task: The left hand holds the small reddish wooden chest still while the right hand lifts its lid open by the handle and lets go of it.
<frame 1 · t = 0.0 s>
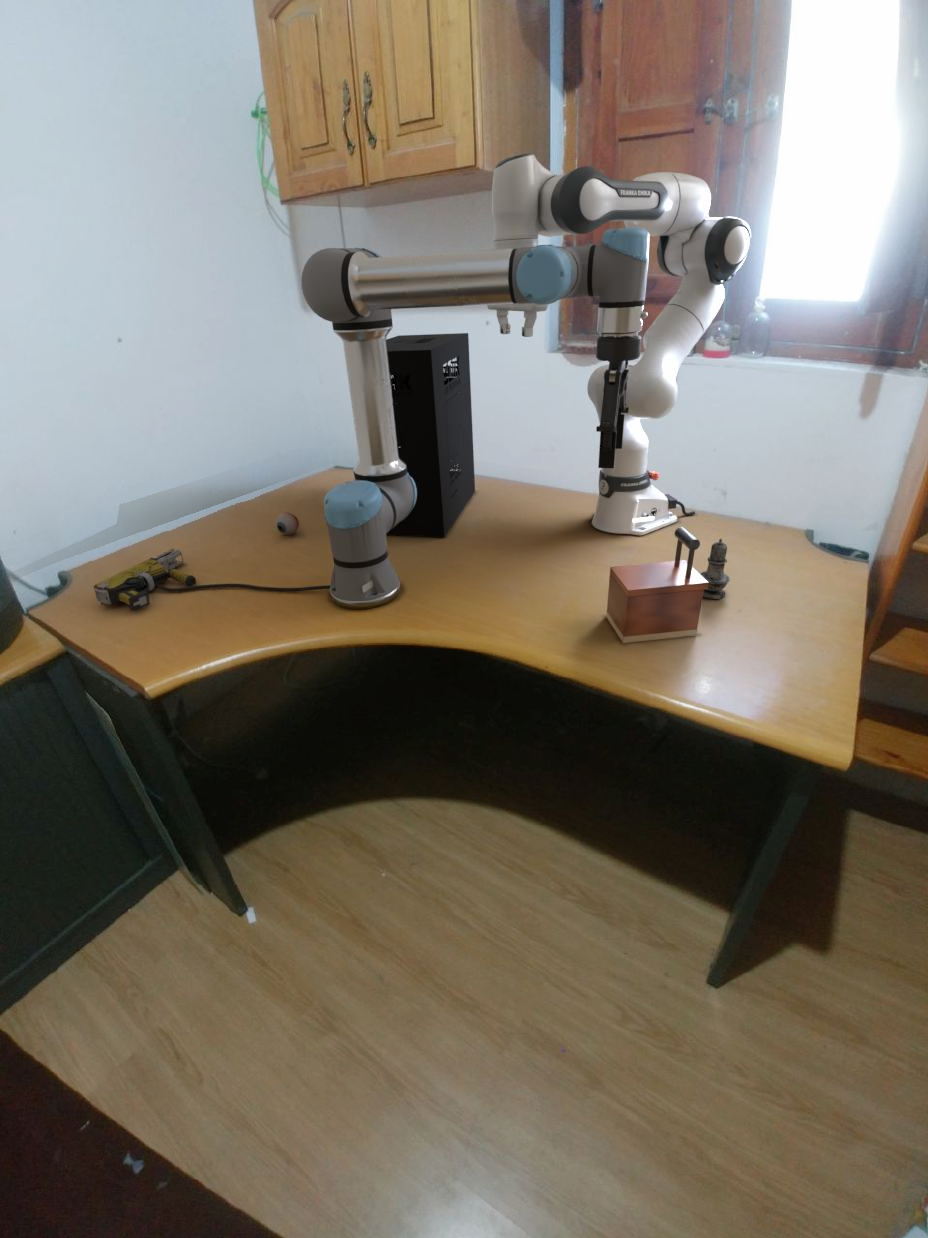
left hand: (610, 457, 114), 28 cm above the table, tool pointing down, fingers open, 13 cm apart
right hand: (516, 335, 125), 48 cm above the table, tool pointing down, fingers open, 8 cm apart
toy gun: (162, 588, 140), on the table
chest: (649, 625, 114), on the table
cardboard box: (427, 511, 175), on the table
lid: (659, 558, 107), point 14 cm above the table, hinge at 0.0°
salt shaker: (711, 593, 124), on the table
eyeball: (289, 534, 165), on the table
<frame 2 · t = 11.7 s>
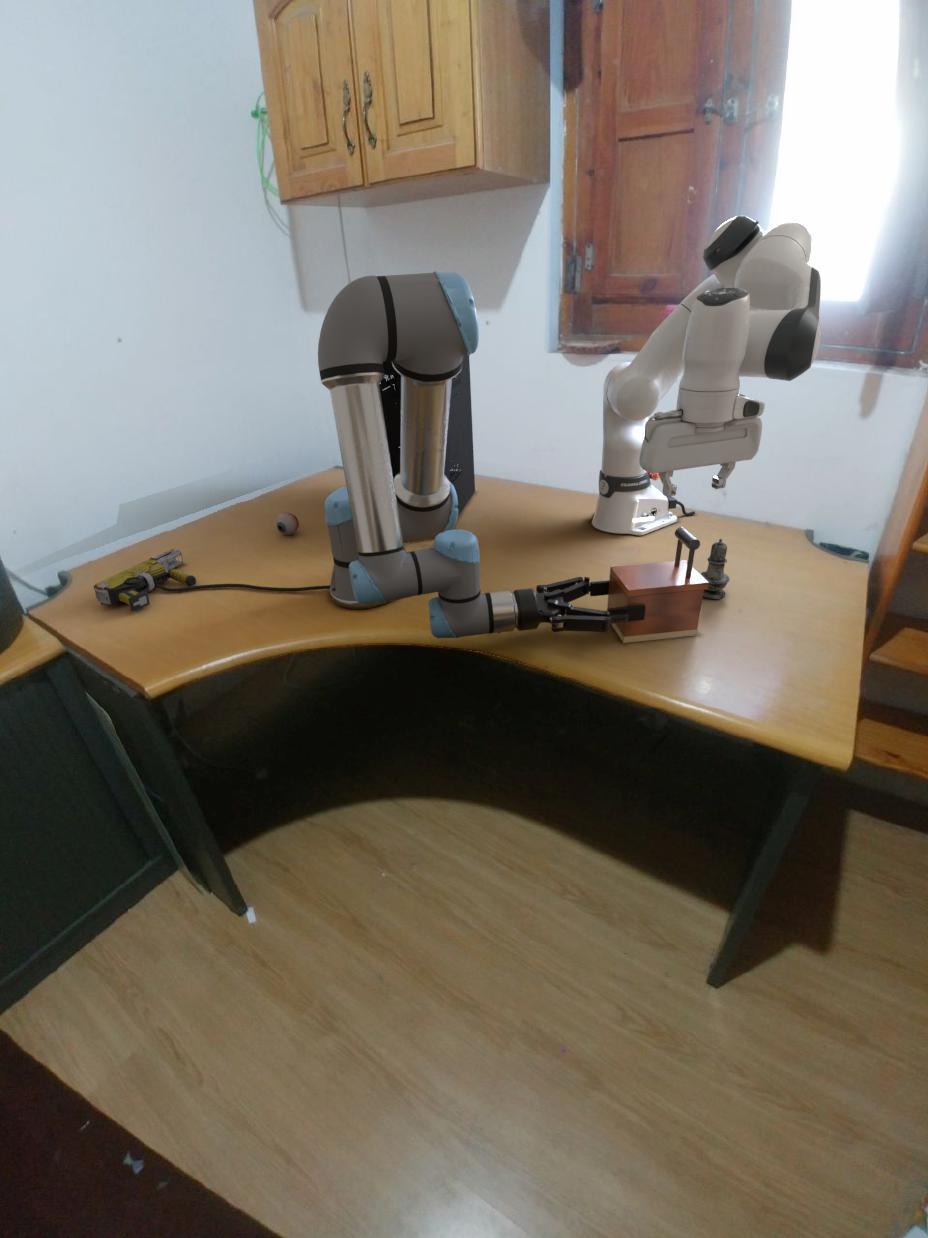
left hand: (633, 598, 111), 6 cm above the table, tool horizontal, fingers closed on chest, 10 cm apart
right hand: (693, 491, 102), 26 cm above the table, tool pointing down, fingers open, 8 cm apart
chest: (649, 625, 114), on the table, touching left hand
everything else where it was.
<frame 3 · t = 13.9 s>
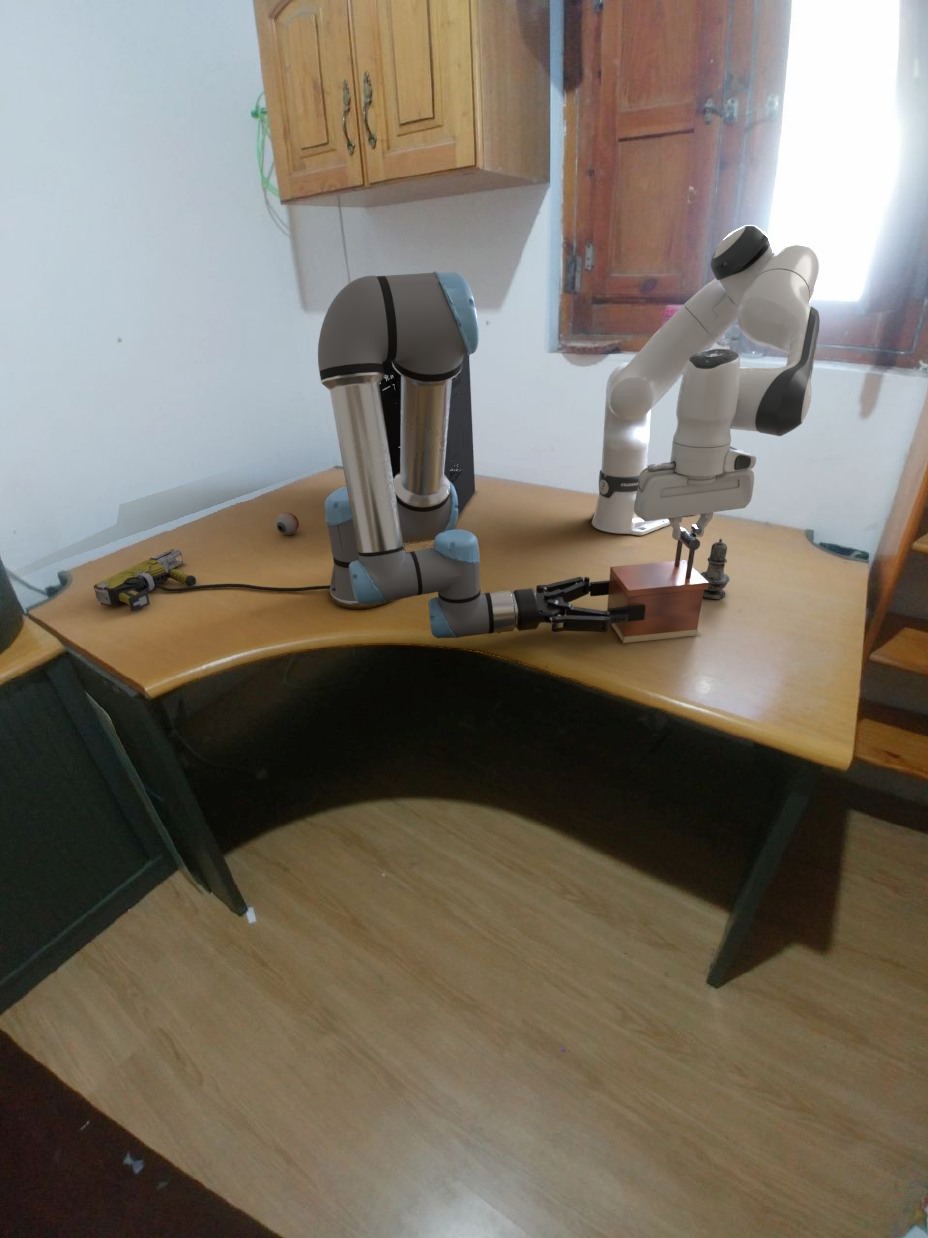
left hand: (633, 598, 111), 6 cm above the table, tool horizontal, fingers closed on chest, 10 cm apart
right hand: (687, 537, 106), 18 cm above the table, tool pointing down, fingers closed on lid, 2 cm apart
chest: (649, 625, 114), on the table, touching left hand
lid: (660, 558, 107), point 14 cm above the table, hinge at -0.1°, touching right hand
everything else where it was.
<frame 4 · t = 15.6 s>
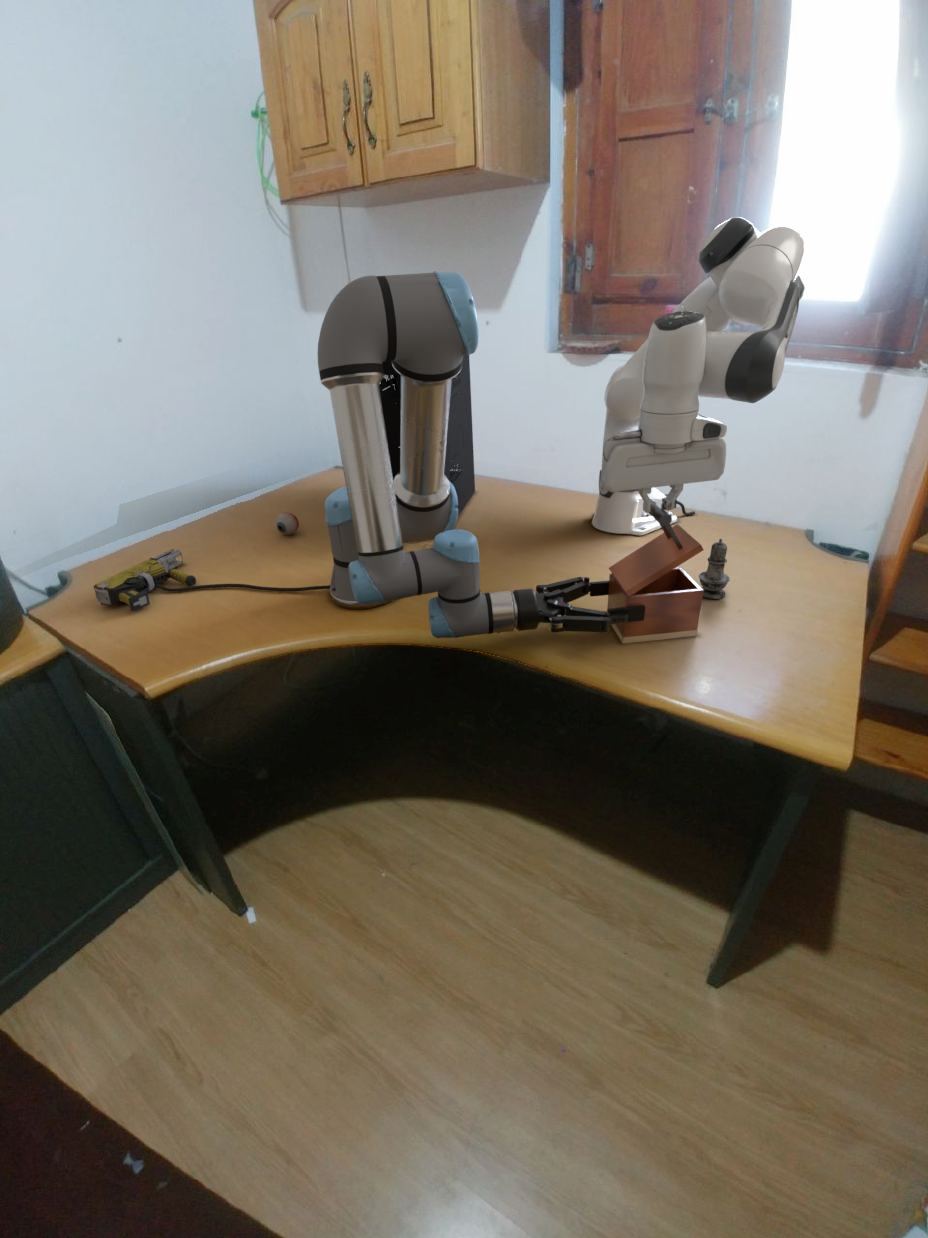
left hand: (633, 598, 111), 6 cm above the table, tool horizontal, fingers closed on chest, 10 cm apart
right hand: (658, 510, 103), 23 cm above the table, tool pointing down, fingers closed
chest: (650, 626, 114), on the table, touching left hand
lid: (644, 543, 105), point 17 cm above the table, hinge at 31.7°, touching right hand
everything else where it was.
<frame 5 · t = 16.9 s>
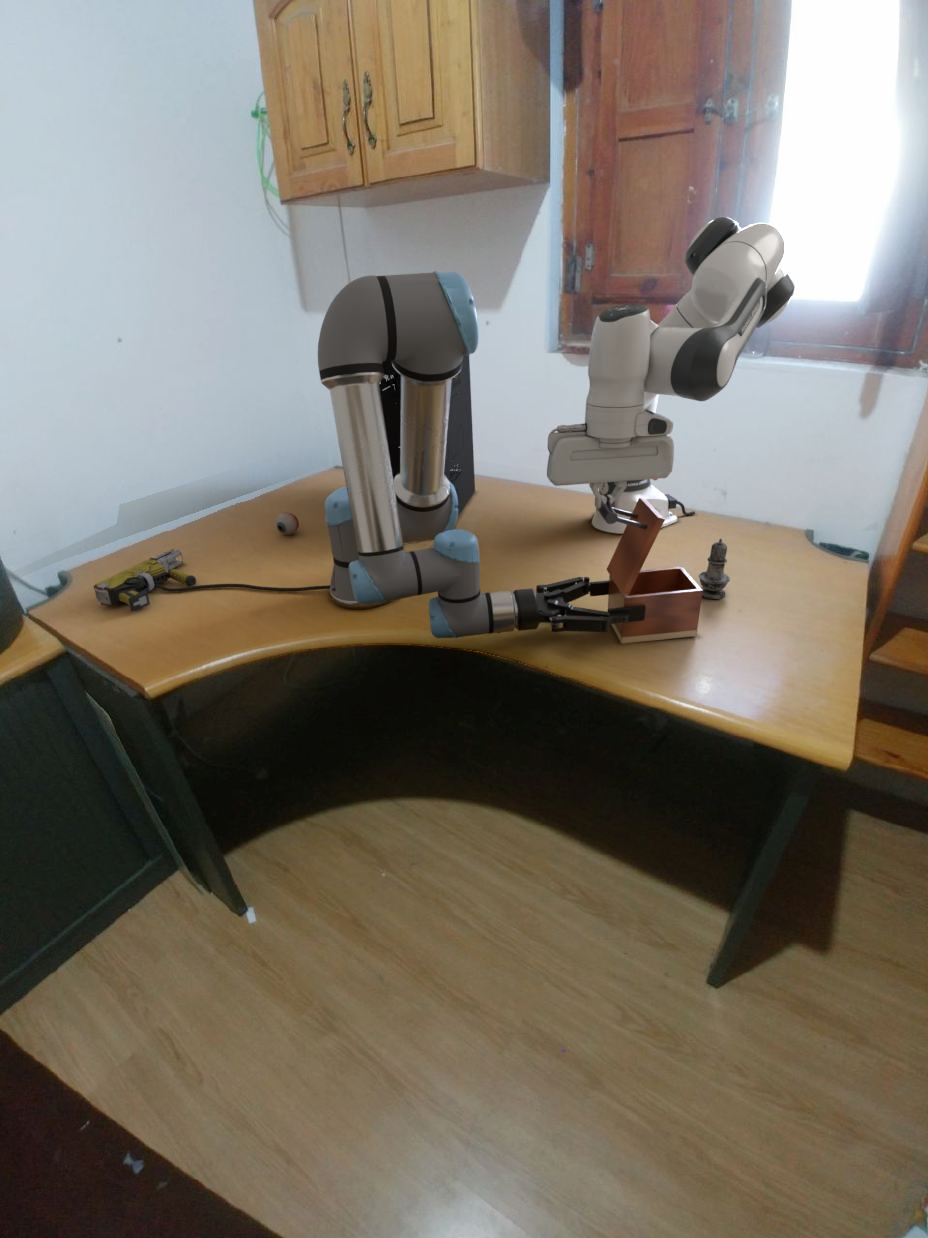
left hand: (633, 598, 111), 6 cm above the table, tool horizontal, fingers closed on chest, 10 cm apart
right hand: (606, 506, 101), 25 cm above the table, tool pointing down, fingers closed, pressing on lid
chest: (650, 625, 114), on the table, touching left hand
lid: (614, 540, 104), point 18 cm above the table, hinge at 68.9°, touching right hand
everything else where it was.
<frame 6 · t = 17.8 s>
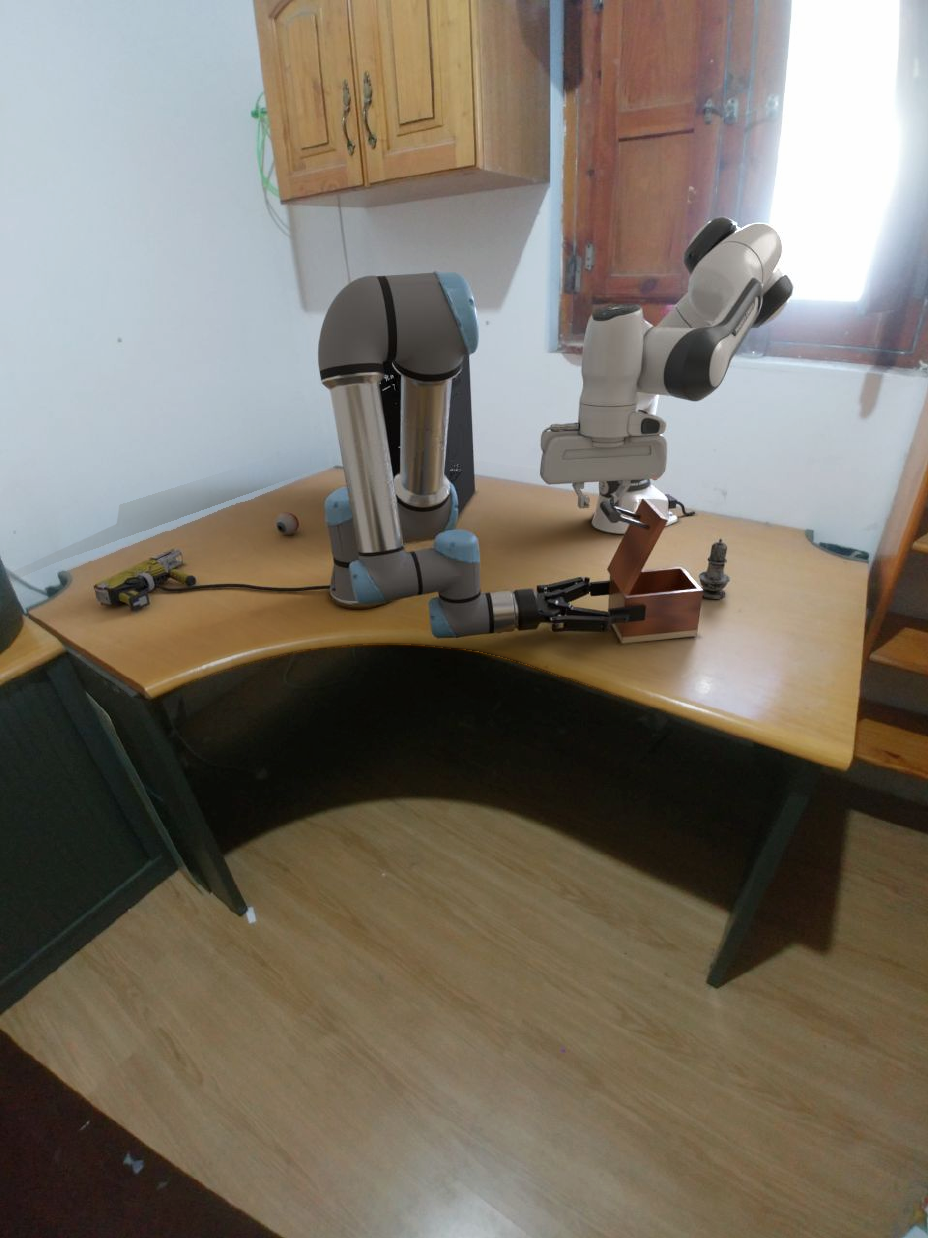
left hand: (633, 598, 111), 6 cm above the table, tool horizontal, fingers closed on chest, 10 cm apart
right hand: (599, 506, 101), 25 cm above the table, tool pointing down, fingers open, 4 cm apart
chest: (650, 625, 114), on the table, touching left hand
lid: (616, 540, 105), point 18 cm above the table, hinge at 66.6°, touching right hand
everything else where it was.
when the left hand's fingers open (6 cm above the table, at t = 21.6 s): chest stays where it is, on the table.
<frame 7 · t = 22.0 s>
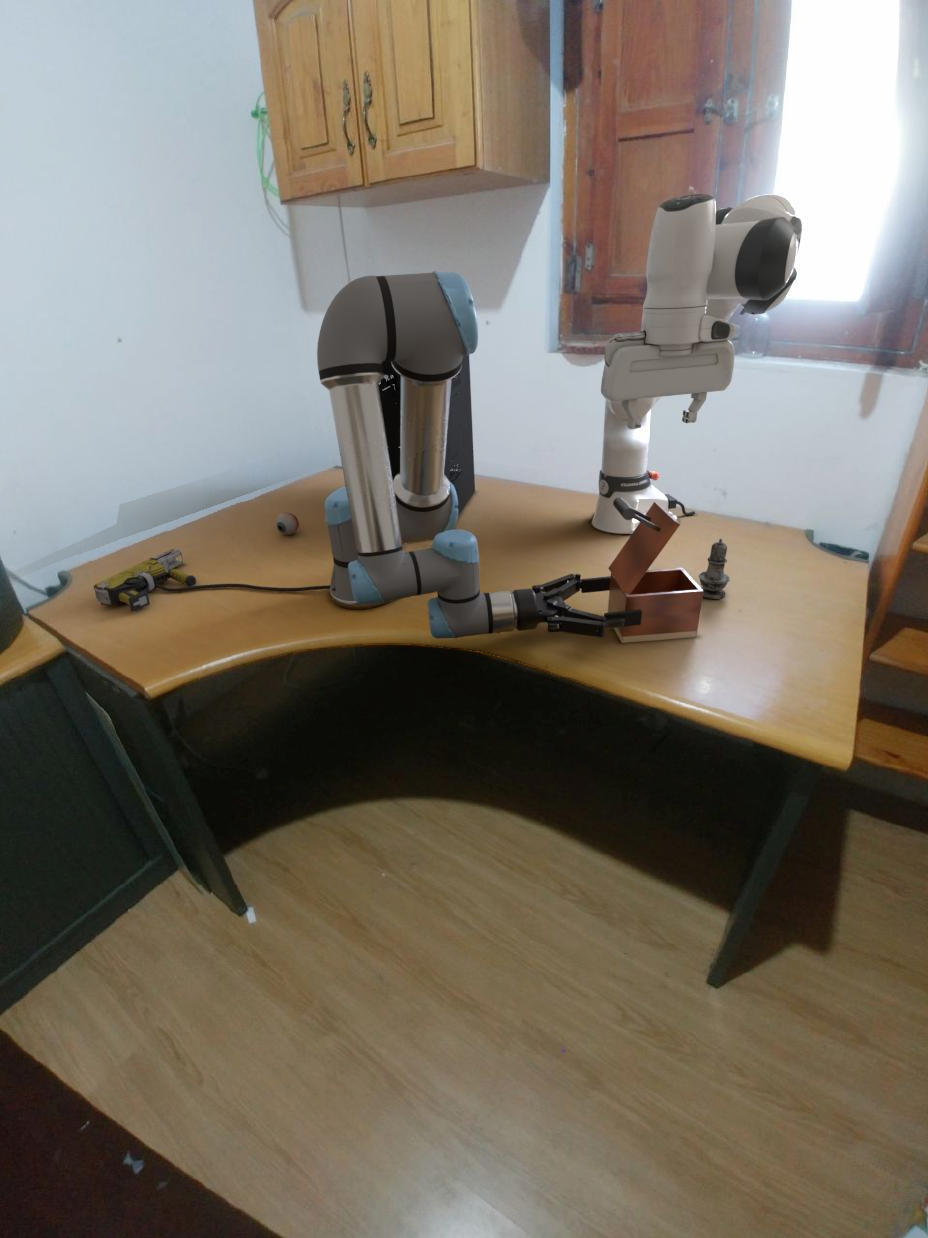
left hand: (627, 599, 111), 6 cm above the table, tool horizontal, fingers open, 13 cm apart
right hand: (661, 425, 95), 37 cm above the table, tool pointing down, fingers open, 8 cm apart
chest: (650, 626, 114), on the table
lid: (624, 538, 105), point 18 cm above the table, hinge at 59.3°
everything else where it was.
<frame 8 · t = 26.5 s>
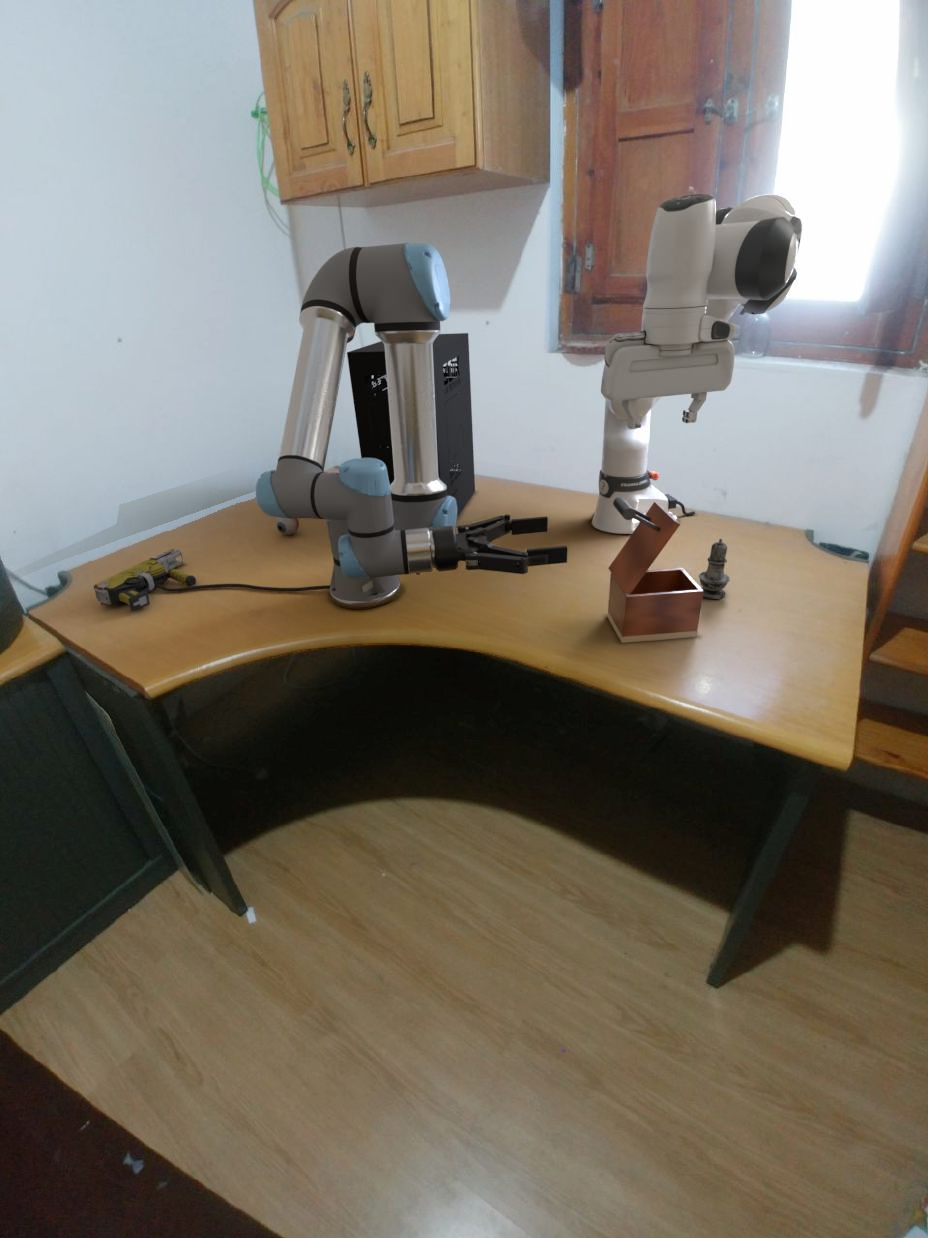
left hand: (556, 538, 103), 20 cm above the table, tool horizontal, fingers open, 13 cm apart
right hand: (661, 425, 95), 37 cm above the table, tool pointing down, fingers open, 8 cm apart
nothing on the table moved.
at the end: lid at +59° (first picture: +0°); the left hand is holding nothing; the right hand is holding nothing; chest tilted 0°; chest never tilted more than 2° during the clip; chest moved 0.2 cm from its start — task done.
